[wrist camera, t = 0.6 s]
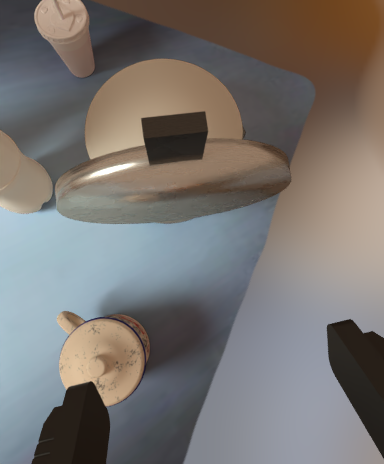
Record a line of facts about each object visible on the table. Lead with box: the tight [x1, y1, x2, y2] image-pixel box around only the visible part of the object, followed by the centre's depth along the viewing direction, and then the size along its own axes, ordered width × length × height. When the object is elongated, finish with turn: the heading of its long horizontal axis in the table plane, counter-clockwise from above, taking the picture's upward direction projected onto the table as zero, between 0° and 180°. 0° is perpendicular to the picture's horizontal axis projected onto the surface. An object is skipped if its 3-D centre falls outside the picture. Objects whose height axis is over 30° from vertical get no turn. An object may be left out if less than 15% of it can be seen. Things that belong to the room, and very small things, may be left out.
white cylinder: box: [85, 59, 246, 224], centre depth 45 cm, size 18×19×10 cm
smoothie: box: [34, 0, 95, 78], centre depth 44 cm, size 6×6×14 cm
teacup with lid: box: [57, 311, 150, 407], centre depth 39 cm, size 12×9×12 cm
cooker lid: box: [55, 111, 291, 224], centre depth 27 cm, size 22×19×2 cm
